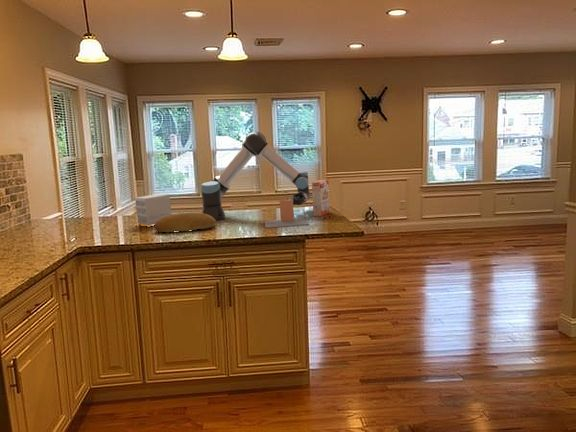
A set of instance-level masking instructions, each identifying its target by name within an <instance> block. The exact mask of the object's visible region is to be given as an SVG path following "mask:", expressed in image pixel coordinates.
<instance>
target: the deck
mask: <svg viewBox="0 0 576 432" xmlns="http://www.w3.org/2000/svg"><path fill="white" fill-rule="evenodd" d="M294 211H295V210H294V204H293V200H287V199H280V200H279V212H280V220H281V221H293V220H294V219H295V214H294V213H295V212H294Z"/></svg>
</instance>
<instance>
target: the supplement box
mask: <svg viewBox="0 0 576 432" xmlns="http://www.w3.org/2000/svg"><path fill="white" fill-rule="evenodd" d="M170 196H171V195H170V194H168V193H166V194H165V193H154V194H149V195H144V196H138V197H137V196H136V197H135V198H134V201H135V207H136V215H137V223H138V222H139V223H143V224H146V225H150V224H156V222H157V221H158V220H159V219H161V218H162V217H165V216H168V215H171V214H173V213H172V204H171V197H170Z"/></svg>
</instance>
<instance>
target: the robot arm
mask: <svg viewBox="0 0 576 432" xmlns="http://www.w3.org/2000/svg"><path fill="white" fill-rule="evenodd" d="M241 147H242V148H241V149H240V150H239V151H238V152H237V153H236V155H235V156H234V157H233V159H232V160H231V161H230V162H229V164H227V166H225V168H224V169H223V170H222V172H221V173H220V175H215V176H214V178H213V179H212V181H207V182H203V183H202V184H201V185H200V192H201V199H202V201H201V202H202V212H201V213H204V214H208V215H210V216H212V217H213V218H214V219H215V220H217V221H221V220H222V221H223V220H224V219H225V218H226V214H225V211H224V209H223V206H222V198H223V197H224V196H225V195H226V193H227V192H228V191H229V189H230V184H231V183H232V182H233V181H234V180H235V179H236V177H237V176H238V175H239V174H240V172H241V171H242V170H243V169H244V168H245V166H246V165H247V164H248V162H249V161H250V160H251V159H252V158H253V157H256V156H259V157H262V158H263V159H264V160H265V161H267V162H268V163H269V164H270V165H271V166H272V167H274V169H276V170H277V171H279V173H280V174H282V175H283V176H284V177H286V179H287V180H289V181H290V182H291V183H292V184H293V185H295V187H296V188H297V192H296V193H294V194H293V196H292V197H291V198H289V197H287V198H286V200H293V206H294V205H297V206H301V205H303V204H304V203H307V201H309V200H310V198H311V195H312V194H311V191H310V189H309V188H310V186H309V175H308V171H298V170H297V169H296V168H294V167H293V166H292V165H291V163H289V162H287V161H286V160H285V159H284V158H283V157H282V156H281V155H280V154H278V153H277V152H276V151H275V150H273V148H272V147H270V144H269V143H268V142H267V139H266V137H265V135H264V134H263V133H262V132H260V131H251V132H249V133H248V134H247V135H246V137H245V139H244V142H243V143H242V144H241Z"/></svg>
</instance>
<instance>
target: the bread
mask: <svg viewBox="0 0 576 432" xmlns="http://www.w3.org/2000/svg"><path fill="white" fill-rule="evenodd" d="M216 224H217V221H216V220H215V219H214V218H213V217H212V216H210V215H208V214H204V213H202V212H180V213H179V212H178V213H172V214H171V215H168V216H165V217H162V218H161V219H159V220H158V221H157V222H156V224H155V226H153V227H154V230H155V232H157V231H159V232H158V233H162V232H166V233H169V232H174V231H189V230H195V231H198V230H197V229H201V230H207V229H211V228H213V227H215V226H216ZM189 232H190V231H189Z"/></svg>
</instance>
